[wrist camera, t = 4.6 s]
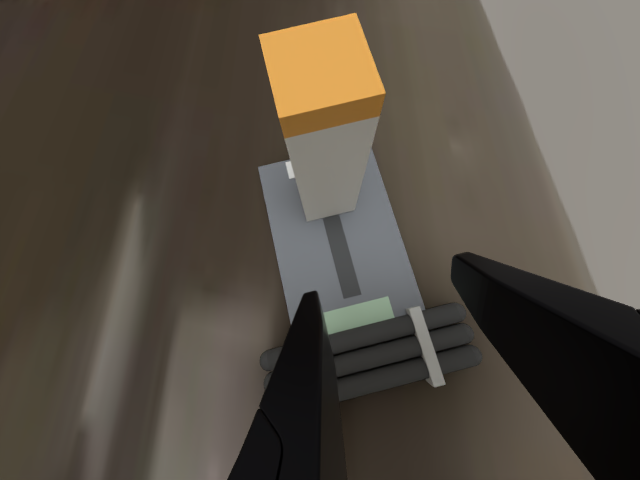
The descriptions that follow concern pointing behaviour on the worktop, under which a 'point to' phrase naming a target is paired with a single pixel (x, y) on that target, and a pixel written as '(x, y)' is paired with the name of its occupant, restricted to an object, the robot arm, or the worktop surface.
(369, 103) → the orange-topped grey block
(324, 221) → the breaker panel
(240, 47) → the worktop surface
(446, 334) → the cord bundle
